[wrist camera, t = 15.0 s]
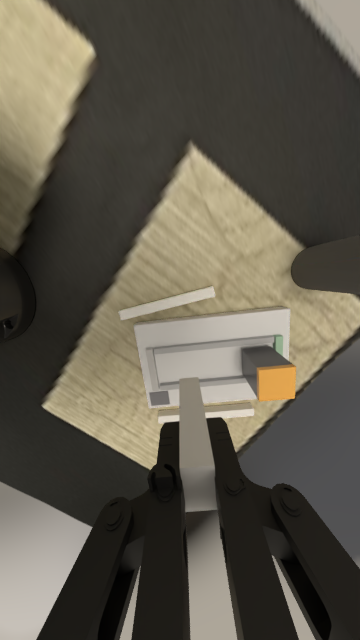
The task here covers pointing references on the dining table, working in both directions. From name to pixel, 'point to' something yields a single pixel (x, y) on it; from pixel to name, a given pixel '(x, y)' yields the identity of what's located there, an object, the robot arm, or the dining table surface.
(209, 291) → the light grey thin bar
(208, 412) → the light grey long bar
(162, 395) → the panel
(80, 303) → the dining table surface
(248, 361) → the knob
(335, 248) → the bottle
